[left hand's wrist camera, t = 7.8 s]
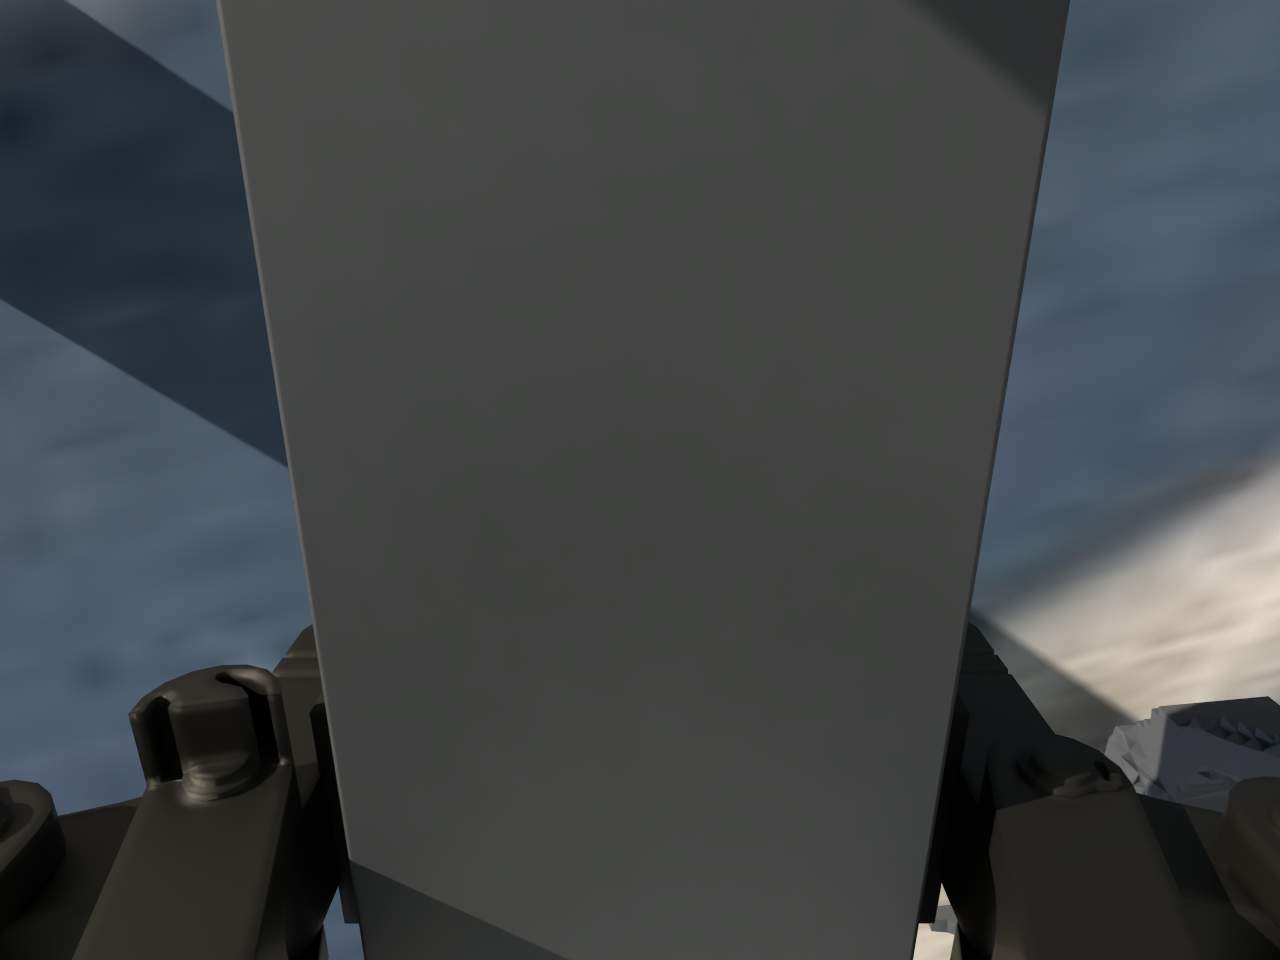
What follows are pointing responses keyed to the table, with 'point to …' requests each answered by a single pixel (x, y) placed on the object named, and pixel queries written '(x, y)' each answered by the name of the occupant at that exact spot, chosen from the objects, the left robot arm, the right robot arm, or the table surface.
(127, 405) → the table surface
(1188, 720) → the toy
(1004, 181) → the bar
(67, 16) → the table surface
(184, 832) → the left robot arm
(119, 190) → the table surface
